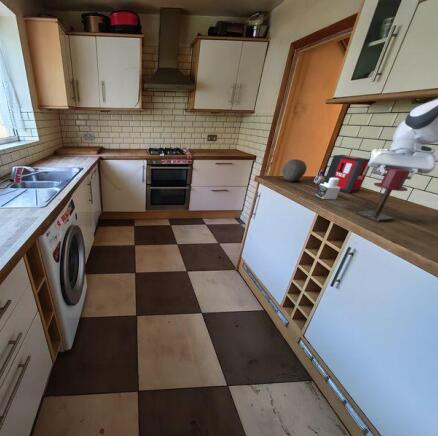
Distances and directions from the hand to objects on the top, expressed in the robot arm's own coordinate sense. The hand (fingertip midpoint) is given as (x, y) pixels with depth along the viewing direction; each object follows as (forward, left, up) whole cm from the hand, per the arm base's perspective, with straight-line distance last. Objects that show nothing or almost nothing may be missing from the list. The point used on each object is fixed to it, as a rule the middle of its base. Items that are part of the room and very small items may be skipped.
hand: (395, 176), depth 99 cm
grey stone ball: (+60, -7, -20) cm, 64 cm away
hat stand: (0, 0, -20) cm, 20 cm away
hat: (0, 0, -5) cm, 5 cm away
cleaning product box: (+40, -27, -20) cm, 53 cm away
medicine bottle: (+27, -1, -20) cm, 34 cm away
